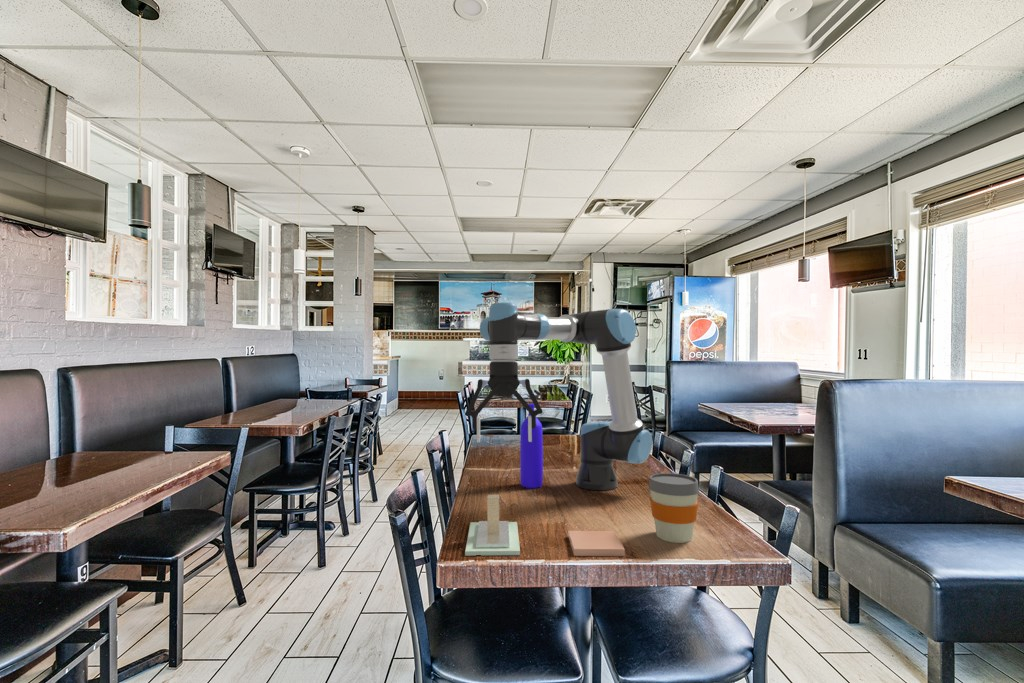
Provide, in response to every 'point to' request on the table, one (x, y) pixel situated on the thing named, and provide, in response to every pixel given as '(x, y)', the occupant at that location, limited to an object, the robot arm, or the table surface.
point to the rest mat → (473, 551)
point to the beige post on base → (493, 527)
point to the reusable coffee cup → (674, 506)
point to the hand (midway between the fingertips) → (504, 441)
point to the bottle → (531, 455)
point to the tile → (595, 543)
